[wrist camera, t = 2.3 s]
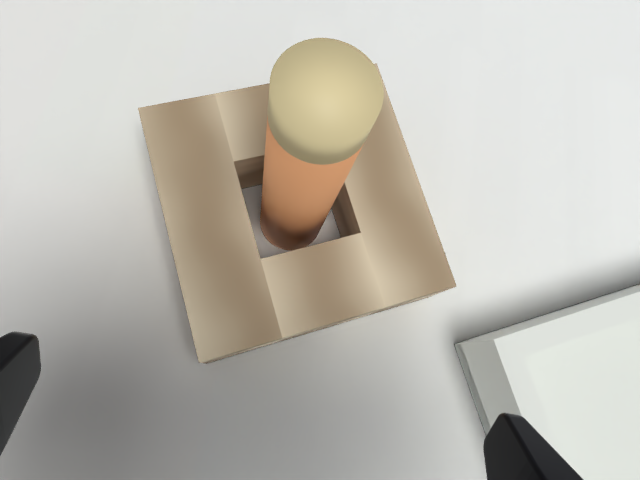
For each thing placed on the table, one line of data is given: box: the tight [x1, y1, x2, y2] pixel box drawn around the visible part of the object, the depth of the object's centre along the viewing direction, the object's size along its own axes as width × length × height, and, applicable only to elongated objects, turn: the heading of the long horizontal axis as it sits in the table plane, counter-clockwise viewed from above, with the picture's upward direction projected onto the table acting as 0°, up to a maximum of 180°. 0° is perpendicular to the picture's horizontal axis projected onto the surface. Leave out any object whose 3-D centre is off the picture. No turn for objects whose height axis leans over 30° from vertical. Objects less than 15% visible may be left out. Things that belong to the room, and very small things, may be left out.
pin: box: [260, 38, 384, 250], centre depth 18 cm, size 3×3×12 cm
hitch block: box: [138, 63, 456, 364], centre depth 23 cm, size 11×11×4 cm
